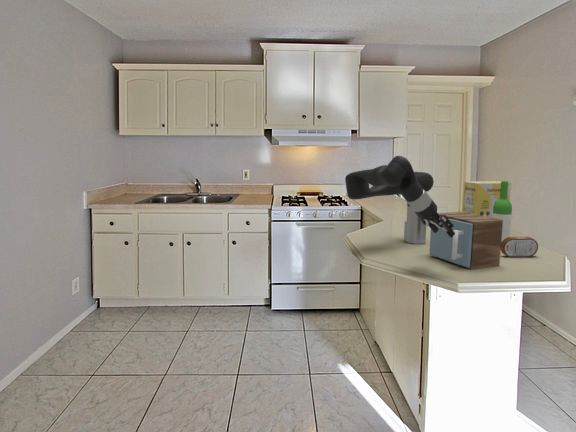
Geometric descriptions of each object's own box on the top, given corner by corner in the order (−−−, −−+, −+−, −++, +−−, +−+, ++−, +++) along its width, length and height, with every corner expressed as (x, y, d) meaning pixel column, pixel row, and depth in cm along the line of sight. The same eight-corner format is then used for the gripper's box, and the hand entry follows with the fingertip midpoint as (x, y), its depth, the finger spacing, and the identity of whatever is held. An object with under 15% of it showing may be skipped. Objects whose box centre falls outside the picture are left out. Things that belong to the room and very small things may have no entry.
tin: (534, 255, 191) (536, 236, 190) (538, 257, 188) (540, 237, 187) (499, 255, 191) (500, 236, 190) (502, 257, 188) (504, 237, 186)
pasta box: (492, 235, 232) (496, 181, 227) (506, 240, 222) (511, 182, 217) (460, 237, 227) (464, 181, 223) (473, 241, 217) (477, 183, 213)
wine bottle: (491, 244, 212) (496, 180, 208) (509, 246, 208) (515, 181, 203) (488, 247, 206) (493, 181, 201) (507, 249, 202) (513, 182, 197)
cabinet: (431, 255, 190) (434, 213, 187) (458, 252, 195) (460, 211, 192) (471, 269, 170) (474, 222, 167) (499, 265, 175) (503, 219, 172)
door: (420, 255, 187) (422, 216, 185) (431, 254, 190) (433, 215, 187) (458, 268, 168) (461, 225, 165) (470, 267, 170) (473, 224, 167)
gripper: (402, 208, 167) (425, 237, 173) (428, 214, 154) (452, 245, 160) (415, 193, 168) (437, 222, 174) (441, 198, 155) (465, 229, 161)
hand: (444, 233), depth 167 cm, fingers open, 8 cm apart
